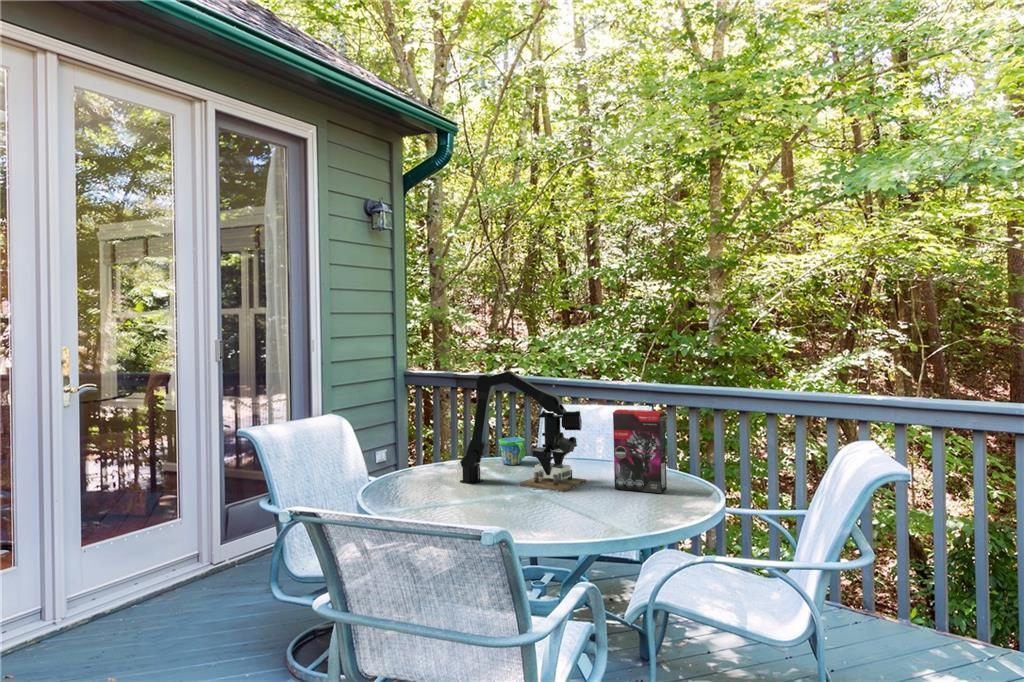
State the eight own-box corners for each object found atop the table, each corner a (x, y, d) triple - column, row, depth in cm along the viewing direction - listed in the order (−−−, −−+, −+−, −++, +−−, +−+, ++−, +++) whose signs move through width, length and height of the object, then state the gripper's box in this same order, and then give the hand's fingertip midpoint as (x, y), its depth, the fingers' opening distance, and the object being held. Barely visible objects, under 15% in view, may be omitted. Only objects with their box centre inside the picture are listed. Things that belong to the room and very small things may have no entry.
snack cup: (532, 465, 289) (532, 440, 289) (509, 468, 284) (509, 443, 284) (514, 459, 303) (514, 435, 303) (492, 462, 298) (491, 437, 298)
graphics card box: (612, 490, 246) (611, 410, 245) (619, 485, 252) (618, 408, 251) (661, 494, 238) (660, 413, 237) (667, 490, 244) (666, 410, 243)
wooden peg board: (563, 491, 244) (562, 478, 244) (520, 485, 255) (519, 472, 255) (586, 482, 257) (586, 469, 257) (544, 477, 268) (544, 464, 268)
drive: (562, 480, 250) (562, 468, 250) (534, 476, 257) (534, 464, 257) (571, 476, 255) (571, 465, 255) (544, 473, 262) (544, 461, 262)
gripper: (557, 435, 243) (558, 481, 244) (585, 428, 258) (585, 471, 259) (530, 432, 250) (531, 477, 250) (559, 425, 265) (559, 467, 265)
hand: (553, 473), depth 256 cm, fingers closed on drive, 6 cm apart
